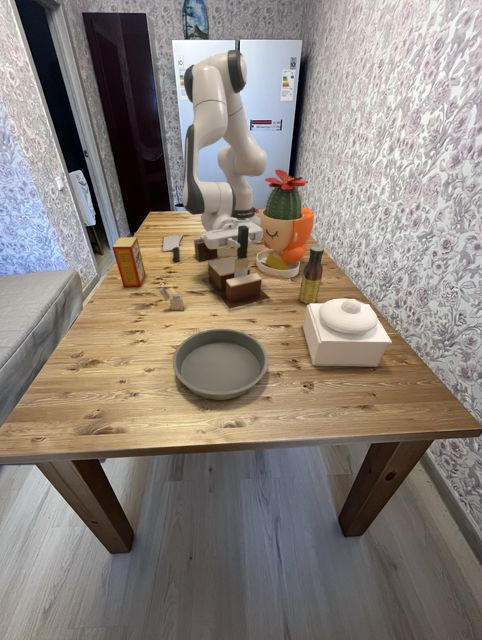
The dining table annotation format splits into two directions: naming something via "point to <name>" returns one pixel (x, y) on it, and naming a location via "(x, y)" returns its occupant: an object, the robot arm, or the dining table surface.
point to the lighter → (173, 300)
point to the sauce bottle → (312, 276)
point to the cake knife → (242, 253)
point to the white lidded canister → (344, 334)
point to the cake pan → (220, 363)
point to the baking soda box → (129, 261)
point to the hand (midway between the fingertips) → (244, 244)
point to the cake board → (238, 302)
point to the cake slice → (243, 287)
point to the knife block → (204, 251)
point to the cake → (222, 271)
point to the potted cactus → (284, 227)
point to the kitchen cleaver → (172, 245)
